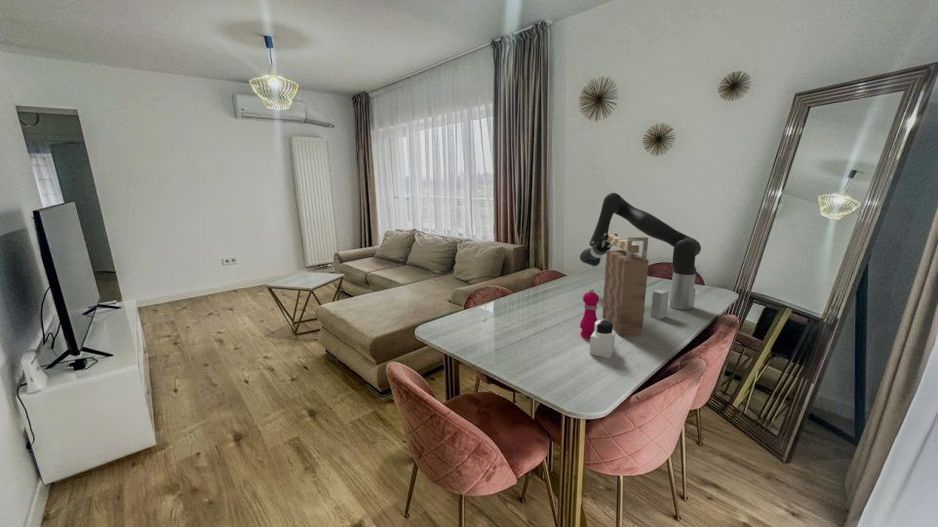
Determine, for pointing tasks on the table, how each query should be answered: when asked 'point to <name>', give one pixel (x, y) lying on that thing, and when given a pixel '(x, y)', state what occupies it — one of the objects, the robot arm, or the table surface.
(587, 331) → the pepper mill
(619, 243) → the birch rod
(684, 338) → the table surface
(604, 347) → the medicine bottle
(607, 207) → the robot arm
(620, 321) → the brown tall blocky piece
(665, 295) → the skincare box
